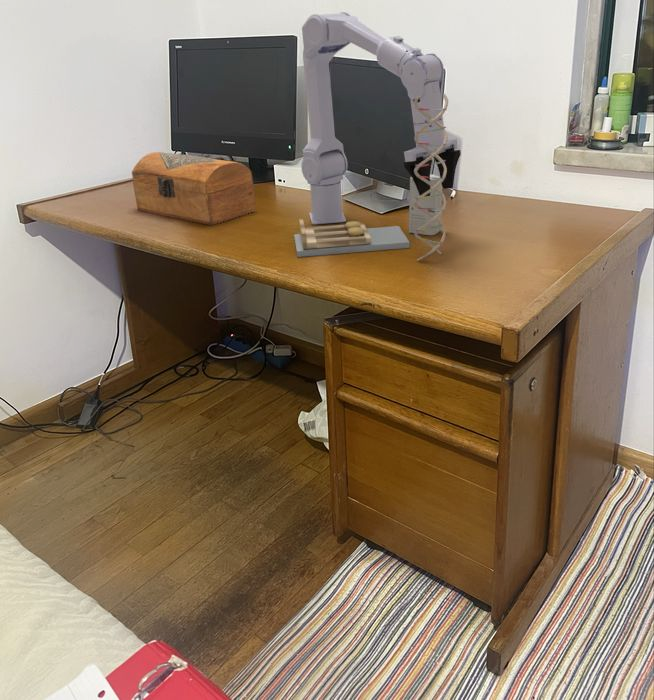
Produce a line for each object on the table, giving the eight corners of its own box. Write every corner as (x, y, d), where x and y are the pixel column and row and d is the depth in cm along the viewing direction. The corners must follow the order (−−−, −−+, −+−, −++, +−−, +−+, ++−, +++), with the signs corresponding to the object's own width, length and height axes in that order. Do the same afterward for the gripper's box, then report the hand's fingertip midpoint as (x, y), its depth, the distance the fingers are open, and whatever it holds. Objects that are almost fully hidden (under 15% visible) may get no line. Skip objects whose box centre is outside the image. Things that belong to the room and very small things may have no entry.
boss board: (294, 239, 150) (293, 223, 148) (398, 231, 151) (398, 214, 149) (297, 257, 139) (296, 239, 137) (409, 247, 140) (409, 230, 139)
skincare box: (408, 233, 149) (407, 177, 144) (416, 227, 153) (416, 173, 147) (434, 236, 146) (435, 179, 141) (442, 230, 150) (443, 174, 145)
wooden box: (133, 211, 181) (123, 158, 175) (183, 198, 192) (175, 147, 186) (206, 228, 163) (198, 169, 157) (257, 212, 174) (251, 156, 167)
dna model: (433, 250, 138) (435, 91, 125) (453, 258, 133) (457, 94, 120) (405, 256, 135) (404, 95, 122) (424, 265, 130) (426, 98, 117)
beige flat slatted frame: (300, 233, 149) (299, 219, 147) (363, 228, 150) (363, 214, 148) (303, 249, 139) (302, 233, 138) (371, 243, 140) (370, 228, 138)
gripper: (421, 125, 126) (430, 199, 130) (467, 114, 135) (474, 183, 139) (392, 129, 131) (402, 200, 135) (438, 118, 140) (445, 185, 144)
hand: (436, 192), depth 138 cm, fingers open, 7 cm apart
